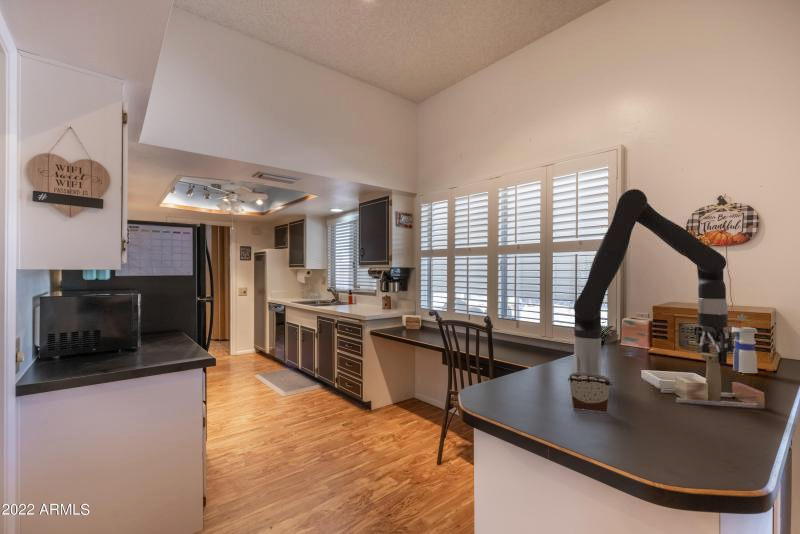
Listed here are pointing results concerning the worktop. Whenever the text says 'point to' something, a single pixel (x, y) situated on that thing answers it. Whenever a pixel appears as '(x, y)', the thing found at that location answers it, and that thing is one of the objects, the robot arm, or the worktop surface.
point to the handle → (712, 376)
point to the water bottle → (744, 349)
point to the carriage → (691, 388)
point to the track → (738, 391)
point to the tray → (666, 378)
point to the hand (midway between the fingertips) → (713, 360)
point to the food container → (590, 391)
